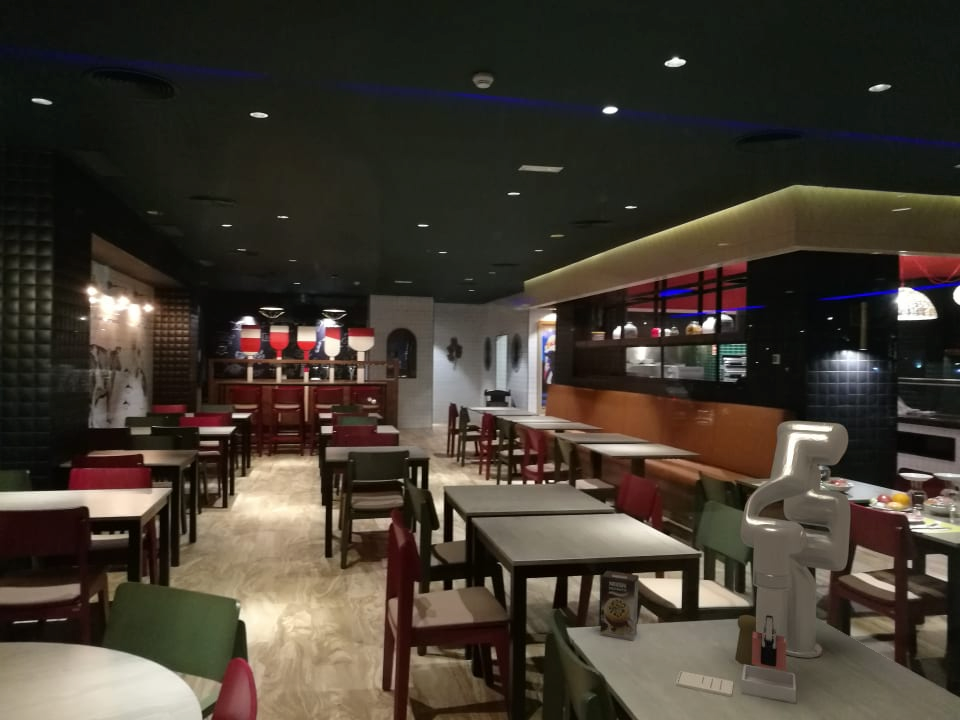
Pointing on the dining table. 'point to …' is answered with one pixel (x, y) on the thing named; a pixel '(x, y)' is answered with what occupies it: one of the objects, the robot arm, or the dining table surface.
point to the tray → (769, 684)
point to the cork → (745, 639)
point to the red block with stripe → (779, 655)
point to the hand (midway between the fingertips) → (768, 660)
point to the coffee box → (619, 605)
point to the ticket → (705, 683)
